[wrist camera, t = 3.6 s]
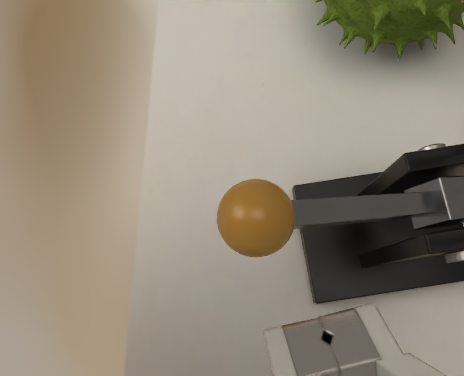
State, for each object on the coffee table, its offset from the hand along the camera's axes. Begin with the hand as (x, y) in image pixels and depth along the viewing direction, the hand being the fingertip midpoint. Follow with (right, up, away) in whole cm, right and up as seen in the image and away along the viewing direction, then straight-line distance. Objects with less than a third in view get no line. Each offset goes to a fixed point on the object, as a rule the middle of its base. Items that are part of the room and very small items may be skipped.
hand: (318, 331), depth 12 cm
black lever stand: (+9, 0, +23) cm, 24 cm away
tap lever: (+3, +2, +10) cm, 11 cm away
